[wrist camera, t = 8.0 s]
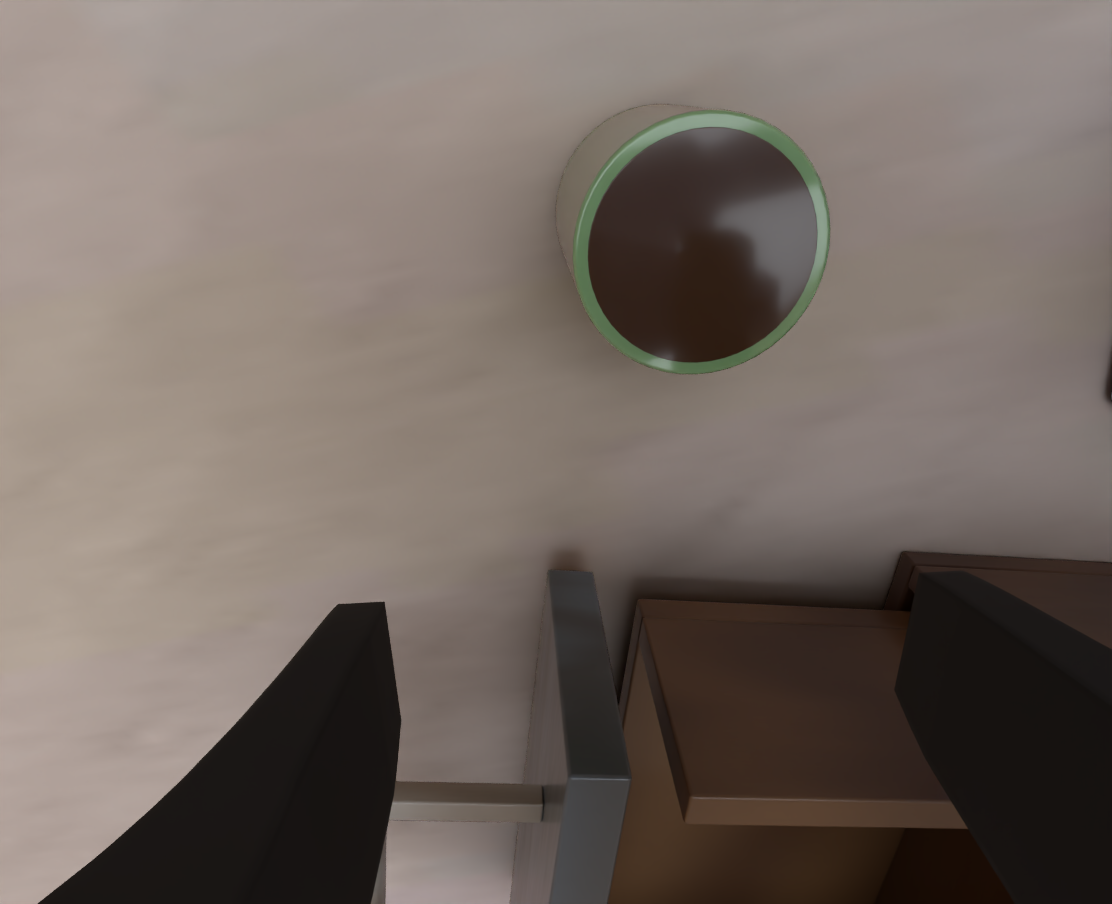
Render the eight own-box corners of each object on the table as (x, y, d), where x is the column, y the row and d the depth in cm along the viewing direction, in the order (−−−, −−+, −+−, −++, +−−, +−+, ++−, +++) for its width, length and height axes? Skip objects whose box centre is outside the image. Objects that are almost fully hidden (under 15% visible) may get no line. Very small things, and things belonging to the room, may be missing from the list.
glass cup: (539, 124, 16) (553, 135, 12) (746, 86, 16) (831, 86, 12) (571, 324, 18) (592, 396, 14) (757, 292, 18) (833, 353, 14)
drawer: (356, 905, 25) (311, 1166, 19) (353, 558, 20) (287, 769, 13) (868, 908, 27) (975, 1148, 21) (997, 590, 21) (1195, 790, 15)
